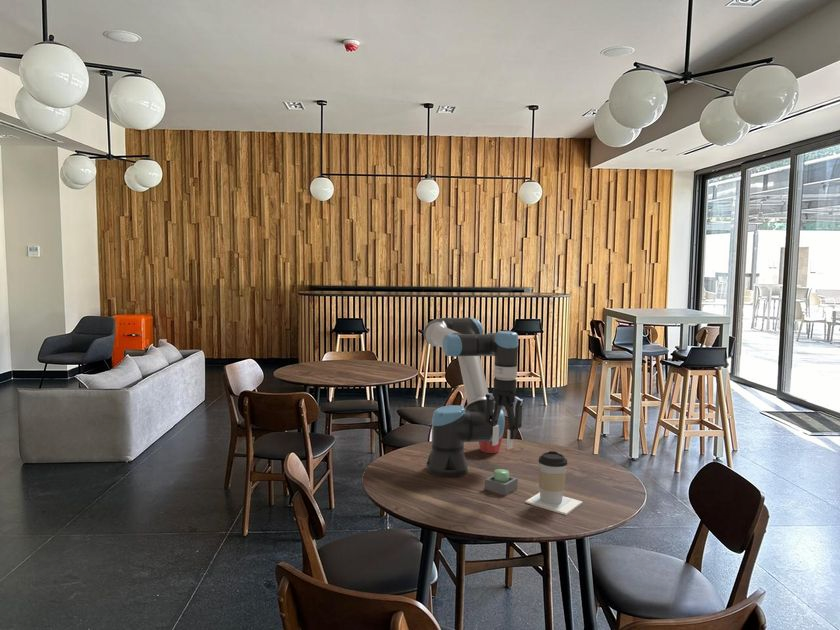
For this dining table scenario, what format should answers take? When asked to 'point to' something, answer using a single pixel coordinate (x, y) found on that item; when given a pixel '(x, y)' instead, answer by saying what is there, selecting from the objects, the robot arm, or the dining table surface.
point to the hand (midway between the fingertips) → (502, 446)
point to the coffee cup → (552, 477)
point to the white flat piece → (563, 507)
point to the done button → (501, 475)
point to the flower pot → (490, 446)
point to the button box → (501, 485)
